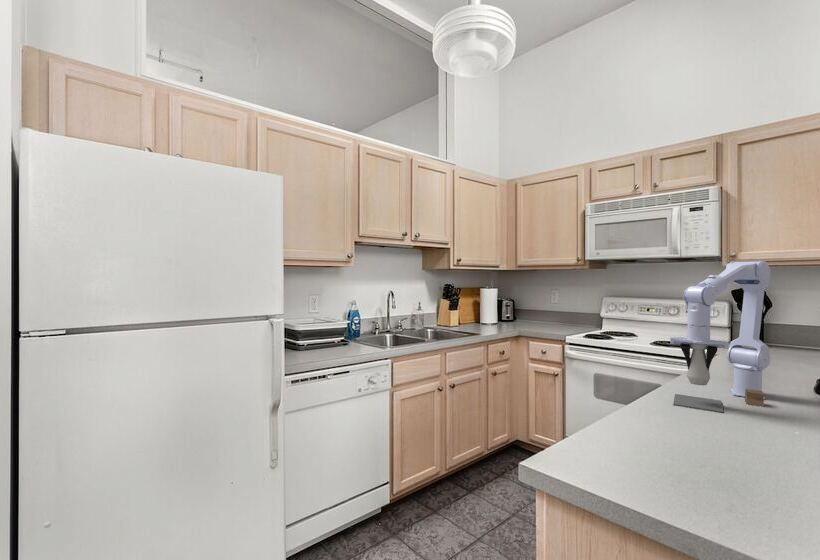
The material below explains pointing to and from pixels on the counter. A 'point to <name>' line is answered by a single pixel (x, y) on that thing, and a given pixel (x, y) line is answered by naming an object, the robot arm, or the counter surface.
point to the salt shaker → (698, 365)
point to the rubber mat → (698, 403)
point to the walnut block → (754, 397)
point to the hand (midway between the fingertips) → (698, 369)
